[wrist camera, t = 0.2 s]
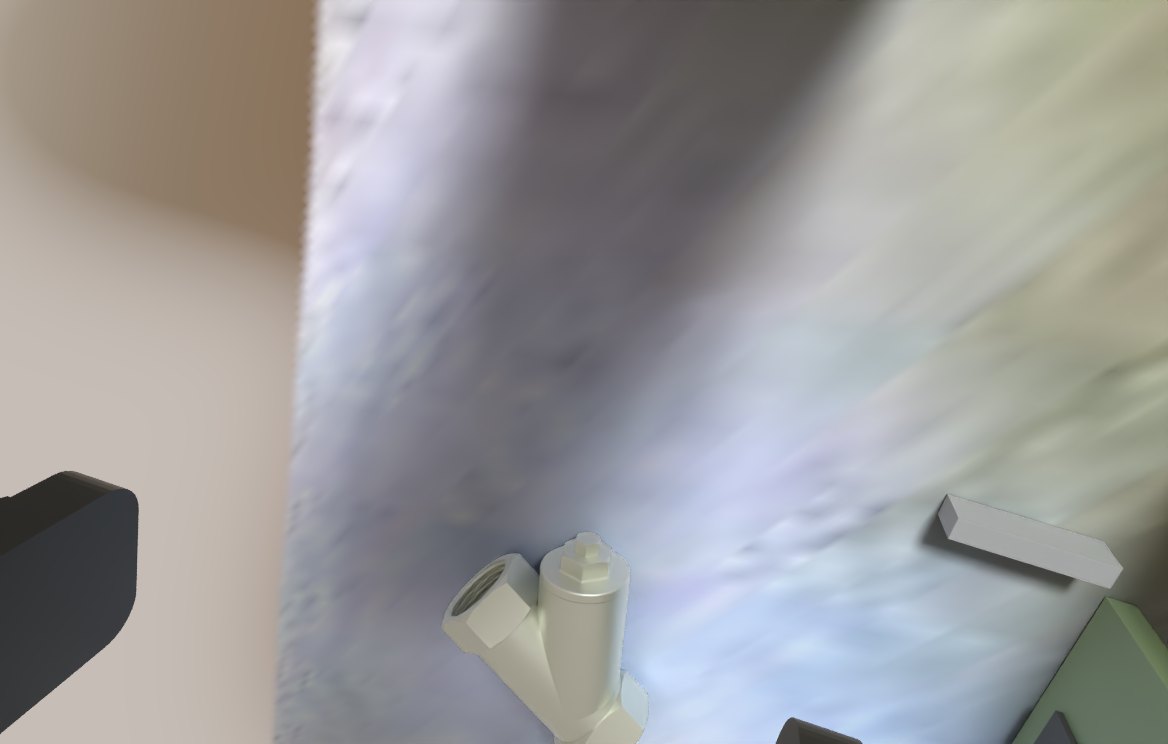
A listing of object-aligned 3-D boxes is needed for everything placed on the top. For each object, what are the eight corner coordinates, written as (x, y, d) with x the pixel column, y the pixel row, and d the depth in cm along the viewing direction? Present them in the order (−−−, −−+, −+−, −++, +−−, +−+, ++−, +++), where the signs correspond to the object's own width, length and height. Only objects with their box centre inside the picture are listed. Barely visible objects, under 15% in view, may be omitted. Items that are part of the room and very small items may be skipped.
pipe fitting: (587, 491, 29) (461, 580, 31) (570, 545, 25) (429, 642, 27) (718, 639, 30) (589, 715, 32) (720, 712, 26) (574, 792, 28)
